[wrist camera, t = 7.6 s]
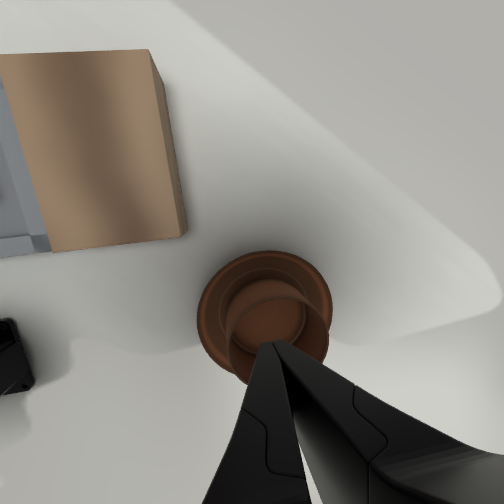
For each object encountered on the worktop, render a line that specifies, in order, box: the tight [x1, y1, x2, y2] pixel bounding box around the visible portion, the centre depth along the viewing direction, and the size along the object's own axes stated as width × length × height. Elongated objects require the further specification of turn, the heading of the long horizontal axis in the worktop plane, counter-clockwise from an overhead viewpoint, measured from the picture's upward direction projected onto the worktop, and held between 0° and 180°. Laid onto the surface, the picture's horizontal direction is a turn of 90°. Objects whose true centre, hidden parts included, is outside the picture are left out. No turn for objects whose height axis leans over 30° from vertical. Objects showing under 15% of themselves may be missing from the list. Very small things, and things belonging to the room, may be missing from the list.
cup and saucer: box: [197, 251, 333, 385], centre depth 20 cm, size 12×12×6 cm
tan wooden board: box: [0, 49, 188, 253], centre depth 17 cm, size 8×11×4 cm
